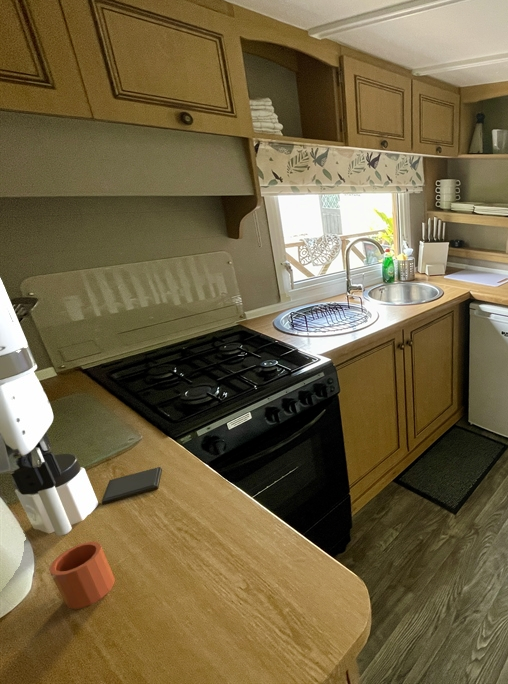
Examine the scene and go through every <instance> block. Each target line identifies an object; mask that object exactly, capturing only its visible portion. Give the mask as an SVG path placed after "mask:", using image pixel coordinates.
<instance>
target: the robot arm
mask: <svg viewBox="0 0 508 684" xmlns="http://www.w3.org/2000/svg"><path fill="white" fill-rule="evenodd" d="M24 333H25V332H24V331H23V328H22V326H21V324H20V322H19V319H18V316H17V314H16V311H15V310H14V306H13V304H12V301H11V299H10V297H9V295H8V293H7V290H6V287H5V285H4V283H3V280H2V279H1V277H0V475H4V474H7V473H8V474H9V475H11V476H12V480H13V479H14V481H15V483H16V485H17V487H18V489H19V491H20V493H21V494H23V495H26V494H30V493H34V492H38V491H42V490H45V489H49V488H53V487H54V486H55V484H56V482H55V480H54V478H57V477H59V476H60V475H61V470H60V468H59V465H58V463H57V461H56V458H55V456H54V455H55V453H54V451H52V448H53V447H52V443H51V441H50V439H49V437H48V432H47V431H48V430H49V428H50V427H51V425H52V423H54V413H53V412H54V411H53V409H52V406H51V403H50V401H49V399H48V396H47V394H46V392H45V390H44V388H43V386H42V384H41V382H40V381H39V378H38V377H37V375H36V373H35V371H37V369H38V365H37V362H36V361H35V360H36V359H35V358H34V355H33V352H32V350H31V348H30V345H29V343H28V341H27V338H26V336H25V334H24ZM36 448H39V449H40V451H41V454H42V456H43V458H44V461H45V462H42V461H41V458H40V456H39V454H38V452H37V450H36ZM22 455H27V457H28V458H27V457H23V456H22ZM15 457H16V458H15Z"/></svg>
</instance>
